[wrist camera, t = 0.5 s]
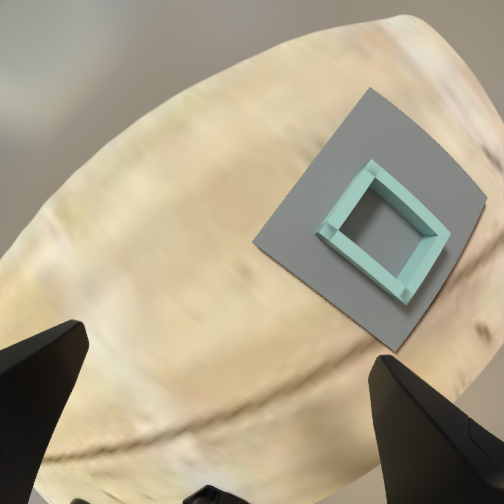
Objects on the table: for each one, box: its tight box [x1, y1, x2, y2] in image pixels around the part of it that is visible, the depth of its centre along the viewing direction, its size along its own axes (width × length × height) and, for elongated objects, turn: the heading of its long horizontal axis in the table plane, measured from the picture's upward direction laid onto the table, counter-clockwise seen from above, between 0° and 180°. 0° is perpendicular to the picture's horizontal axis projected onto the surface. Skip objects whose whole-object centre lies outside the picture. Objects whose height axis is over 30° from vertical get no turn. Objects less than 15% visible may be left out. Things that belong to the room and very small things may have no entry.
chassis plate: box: [252, 87, 487, 352], centre depth 21 cm, size 18×16×4 cm
